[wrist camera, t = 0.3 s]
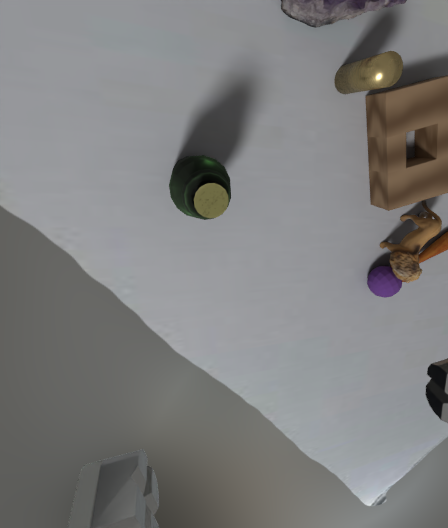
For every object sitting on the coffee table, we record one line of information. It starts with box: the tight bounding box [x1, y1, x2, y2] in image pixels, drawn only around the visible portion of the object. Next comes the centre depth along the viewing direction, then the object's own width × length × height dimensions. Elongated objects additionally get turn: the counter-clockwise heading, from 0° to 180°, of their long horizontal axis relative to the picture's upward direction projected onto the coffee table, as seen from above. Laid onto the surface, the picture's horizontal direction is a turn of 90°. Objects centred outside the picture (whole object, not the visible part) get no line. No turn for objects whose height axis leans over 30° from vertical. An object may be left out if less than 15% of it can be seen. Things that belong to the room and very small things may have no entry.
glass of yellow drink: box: [335, 51, 403, 94], centre depth 47 cm, size 4×4×10 cm
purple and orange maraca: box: [367, 231, 448, 297], centre depth 65 cm, size 6×6×20 cm
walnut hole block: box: [366, 75, 448, 211], centre depth 55 cm, size 18×12×5 cm, turn 14°
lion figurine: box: [380, 200, 442, 283], centre depth 60 cm, size 15×5×9 cm, turn 153°
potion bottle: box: [169, 155, 231, 220], centre depth 44 cm, size 8×8×18 cm
